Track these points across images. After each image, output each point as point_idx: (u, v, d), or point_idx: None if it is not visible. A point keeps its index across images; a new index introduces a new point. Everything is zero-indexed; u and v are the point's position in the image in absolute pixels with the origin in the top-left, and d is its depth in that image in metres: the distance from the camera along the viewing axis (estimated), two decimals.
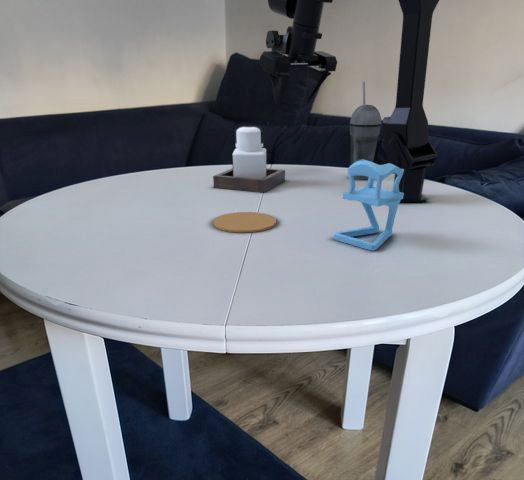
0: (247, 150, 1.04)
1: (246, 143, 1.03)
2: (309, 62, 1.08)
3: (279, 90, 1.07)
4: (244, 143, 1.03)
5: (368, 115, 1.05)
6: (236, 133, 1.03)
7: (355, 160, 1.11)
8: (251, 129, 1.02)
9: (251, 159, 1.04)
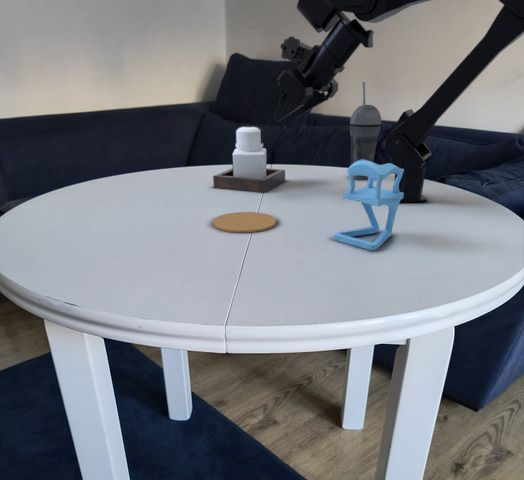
0: (247, 150, 1.04)
1: (246, 143, 1.03)
2: None
3: (285, 112, 0.95)
4: (244, 143, 1.03)
5: (368, 115, 1.05)
6: (236, 133, 1.03)
7: (355, 160, 1.11)
8: (251, 129, 1.02)
9: (251, 159, 1.04)
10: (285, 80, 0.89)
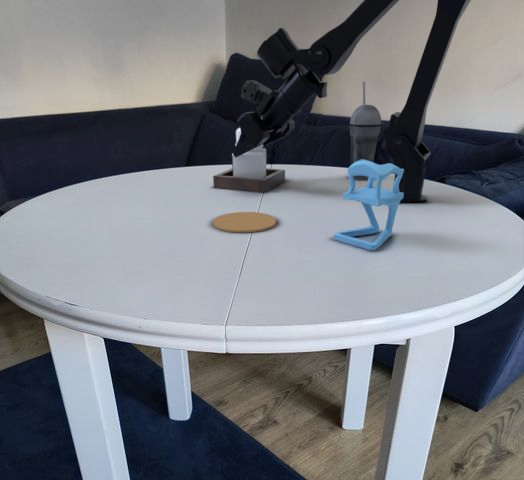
0: None
1: None
2: None
3: (244, 149, 1.01)
4: None
5: (368, 115, 1.05)
6: (236, 133, 1.03)
7: (355, 160, 1.11)
8: None
9: (251, 159, 1.04)
10: (244, 123, 0.94)
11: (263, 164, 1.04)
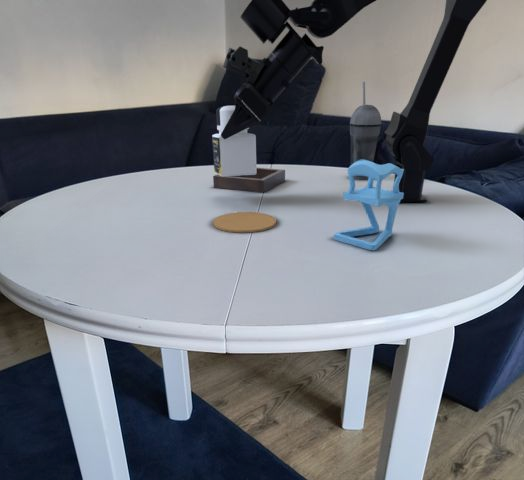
0: None
1: None
2: None
3: (238, 128, 0.87)
4: None
5: (368, 115, 1.05)
6: (219, 113, 0.89)
7: (355, 160, 1.11)
8: None
9: (241, 142, 0.90)
10: (247, 95, 0.80)
11: (254, 147, 0.91)
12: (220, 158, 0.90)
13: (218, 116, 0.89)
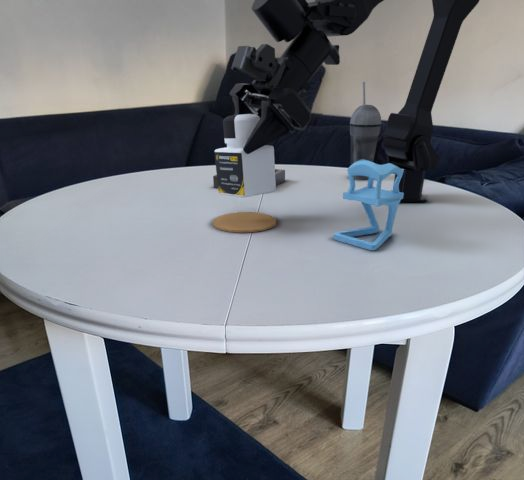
0: None
1: None
2: None
3: (266, 140, 0.74)
4: (250, 134, 0.75)
5: (368, 115, 1.05)
6: (234, 123, 0.75)
7: (355, 160, 1.11)
8: (254, 115, 0.75)
9: (261, 155, 0.77)
10: (290, 101, 0.69)
11: (273, 160, 0.79)
12: (243, 176, 0.76)
13: (231, 127, 0.75)
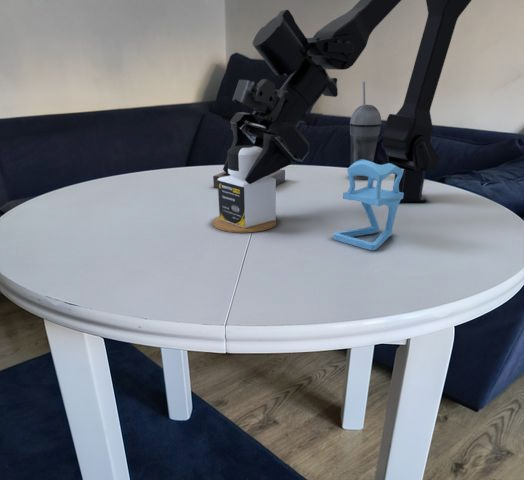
0: None
1: None
2: None
3: (267, 171, 0.76)
4: None
5: (368, 115, 1.05)
6: (238, 157, 0.76)
7: (355, 160, 1.11)
8: (258, 149, 0.77)
9: (263, 188, 0.79)
10: (290, 135, 0.71)
11: (275, 192, 0.81)
12: (244, 209, 0.78)
13: (235, 160, 0.77)
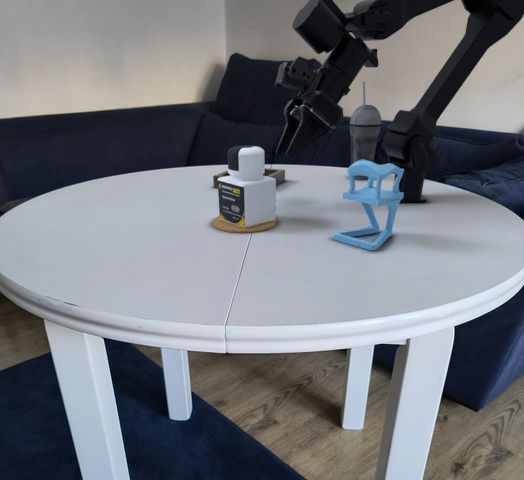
0: (255, 177, 0.78)
1: (255, 168, 0.77)
2: None
3: (306, 142, 0.79)
4: (253, 168, 0.77)
5: (368, 115, 1.05)
6: (238, 157, 0.76)
7: (355, 160, 1.11)
8: (258, 149, 0.77)
9: (263, 188, 0.79)
10: (319, 102, 0.74)
11: (275, 192, 0.81)
12: (244, 209, 0.78)
13: (235, 160, 0.77)
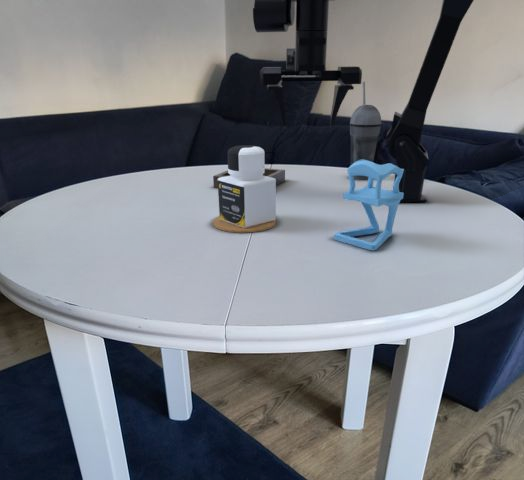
0: (255, 177, 0.78)
1: (255, 168, 0.77)
2: (324, 76, 0.90)
3: (279, 108, 0.93)
4: (253, 168, 0.77)
5: (368, 115, 1.05)
6: (238, 157, 0.76)
7: (355, 160, 1.11)
8: (258, 149, 0.77)
9: (263, 188, 0.79)
10: None
11: (275, 192, 0.81)
12: (244, 209, 0.78)
13: (235, 160, 0.77)
